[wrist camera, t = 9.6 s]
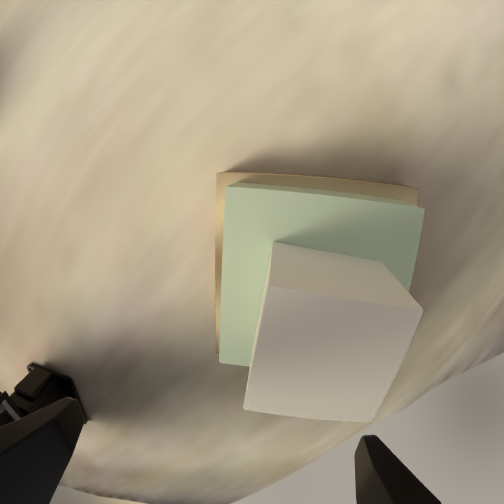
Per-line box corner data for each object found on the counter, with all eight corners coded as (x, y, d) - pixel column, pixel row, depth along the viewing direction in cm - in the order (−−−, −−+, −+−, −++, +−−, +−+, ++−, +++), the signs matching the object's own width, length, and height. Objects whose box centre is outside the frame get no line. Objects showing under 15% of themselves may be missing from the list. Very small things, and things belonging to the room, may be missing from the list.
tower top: (372, 345, 18) (384, 374, 15) (228, 334, 19) (219, 362, 16) (402, 200, 15) (425, 208, 12) (236, 182, 16) (225, 186, 13)
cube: (350, 353, 15) (371, 422, 10) (254, 339, 15) (242, 409, 10) (380, 261, 13) (423, 310, 9) (273, 241, 14) (268, 285, 9)
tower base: (375, 338, 21) (385, 361, 18) (224, 330, 22) (216, 353, 19) (400, 184, 18) (418, 188, 15) (227, 171, 19) (216, 172, 16)
